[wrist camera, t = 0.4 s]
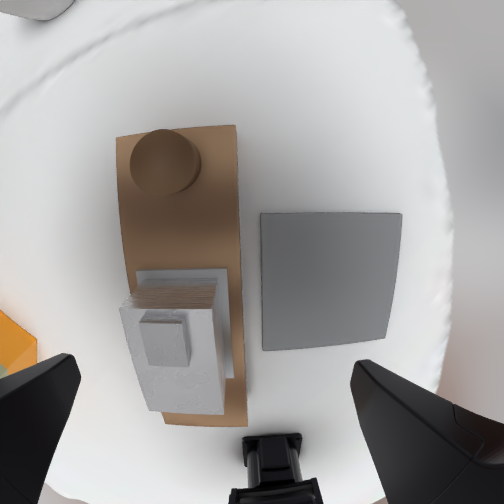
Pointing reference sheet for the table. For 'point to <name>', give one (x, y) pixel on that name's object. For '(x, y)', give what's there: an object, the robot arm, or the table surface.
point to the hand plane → (188, 233)
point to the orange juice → (15, 347)
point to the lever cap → (177, 344)
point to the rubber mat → (327, 277)
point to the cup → (35, 8)
